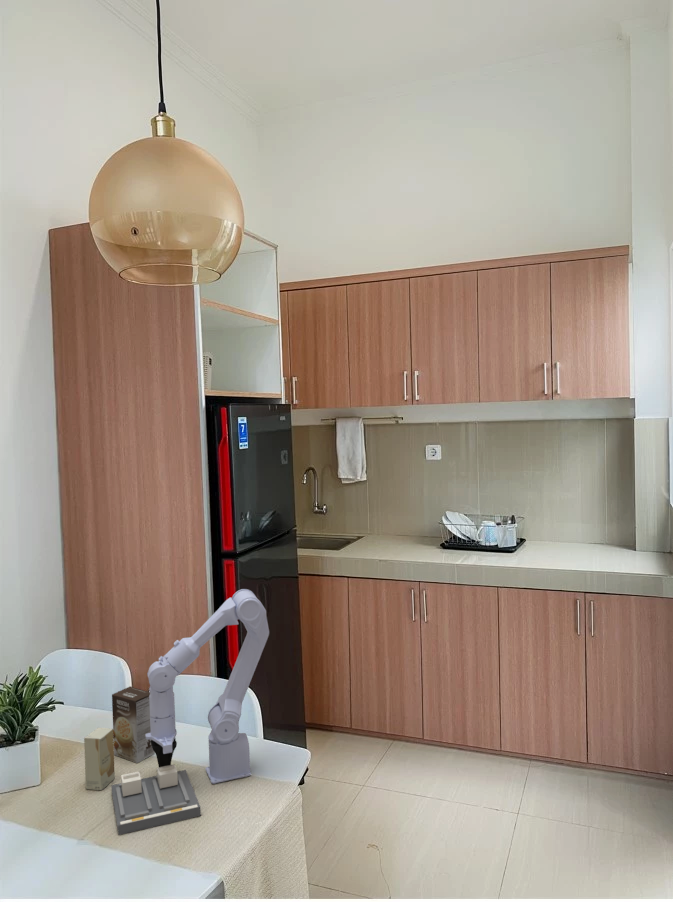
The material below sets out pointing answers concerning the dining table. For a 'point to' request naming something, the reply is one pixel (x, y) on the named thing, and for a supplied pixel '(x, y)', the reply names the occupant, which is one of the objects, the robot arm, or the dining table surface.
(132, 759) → the coffee box
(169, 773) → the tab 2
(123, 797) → the switch board
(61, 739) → the dining table surface
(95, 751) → the skincare box
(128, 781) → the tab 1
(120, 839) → the dining table surface
